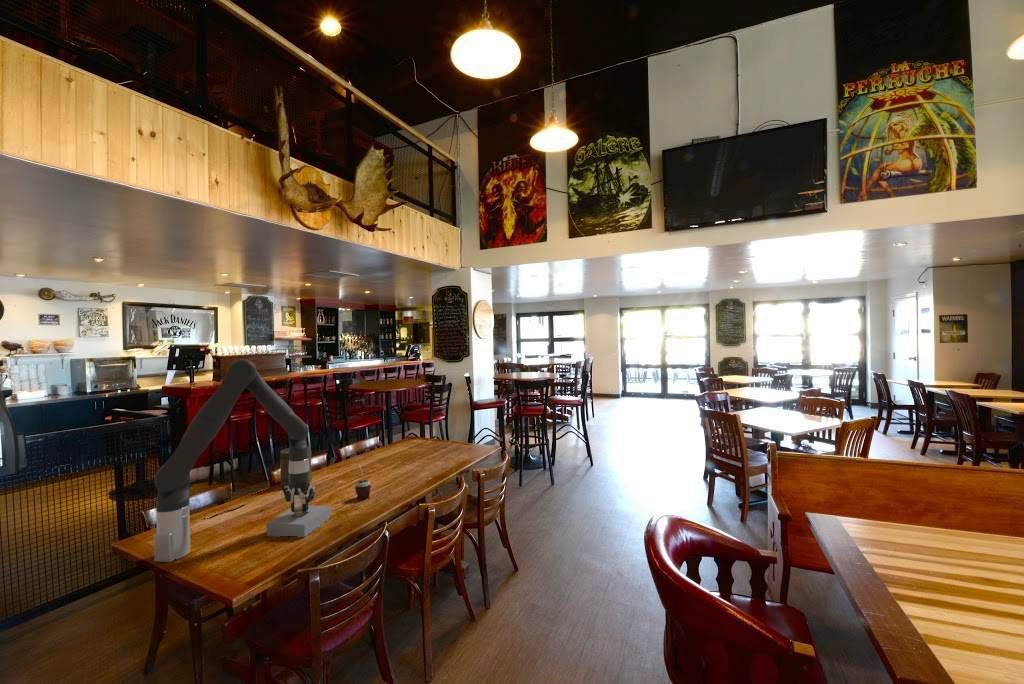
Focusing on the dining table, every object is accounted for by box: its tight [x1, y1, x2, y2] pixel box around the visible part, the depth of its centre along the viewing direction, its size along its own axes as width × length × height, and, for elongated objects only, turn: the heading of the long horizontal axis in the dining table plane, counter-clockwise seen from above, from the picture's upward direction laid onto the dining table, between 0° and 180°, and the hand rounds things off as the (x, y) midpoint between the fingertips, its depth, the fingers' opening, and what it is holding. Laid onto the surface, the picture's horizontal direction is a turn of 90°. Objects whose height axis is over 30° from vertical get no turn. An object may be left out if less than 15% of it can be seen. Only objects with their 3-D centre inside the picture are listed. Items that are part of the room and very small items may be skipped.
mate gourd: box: [354, 464, 372, 501], centre depth 202 cm, size 8×8×15 cm
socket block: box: [266, 504, 331, 538], centre depth 172 cm, size 18×16×5 cm
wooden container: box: [279, 446, 313, 488], centre depth 225 cm, size 15×15×22 cm
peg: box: [294, 494, 305, 517], centre depth 172 cm, size 4×4×11 cm
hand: (299, 511), depth 172 cm, fingers closed on peg, 4 cm apart
